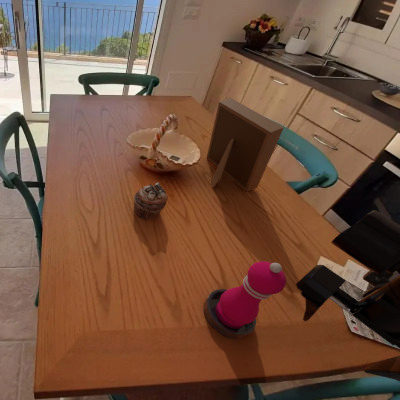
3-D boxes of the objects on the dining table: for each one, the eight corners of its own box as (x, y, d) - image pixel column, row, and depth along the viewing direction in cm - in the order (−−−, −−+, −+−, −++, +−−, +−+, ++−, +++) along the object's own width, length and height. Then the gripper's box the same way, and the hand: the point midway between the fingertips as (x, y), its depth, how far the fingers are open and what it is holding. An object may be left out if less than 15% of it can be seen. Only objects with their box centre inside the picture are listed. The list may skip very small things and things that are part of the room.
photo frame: (214, 156, 110) (242, 96, 93) (255, 189, 95) (298, 125, 78) (184, 162, 106) (208, 100, 89) (222, 197, 91) (259, 131, 74)
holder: (260, 325, 60) (266, 321, 58) (229, 347, 56) (234, 343, 54) (224, 287, 66) (228, 282, 64) (193, 305, 62) (197, 300, 61)
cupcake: (150, 197, 89) (157, 173, 83) (168, 217, 83) (177, 193, 76) (125, 204, 86) (131, 180, 79) (142, 225, 80) (149, 201, 73)
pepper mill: (209, 319, 60) (253, 269, 46) (216, 294, 64) (258, 242, 51) (244, 338, 57) (301, 291, 43) (248, 310, 61) (302, 260, 48)
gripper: (540, 329, 32) (420, 368, 43) (359, 227, 43) (300, 278, 54) (526, 387, 27) (396, 415, 38) (327, 256, 39) (270, 305, 49)
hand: (333, 343), depth 45 cm, fingers open, 9 cm apart
